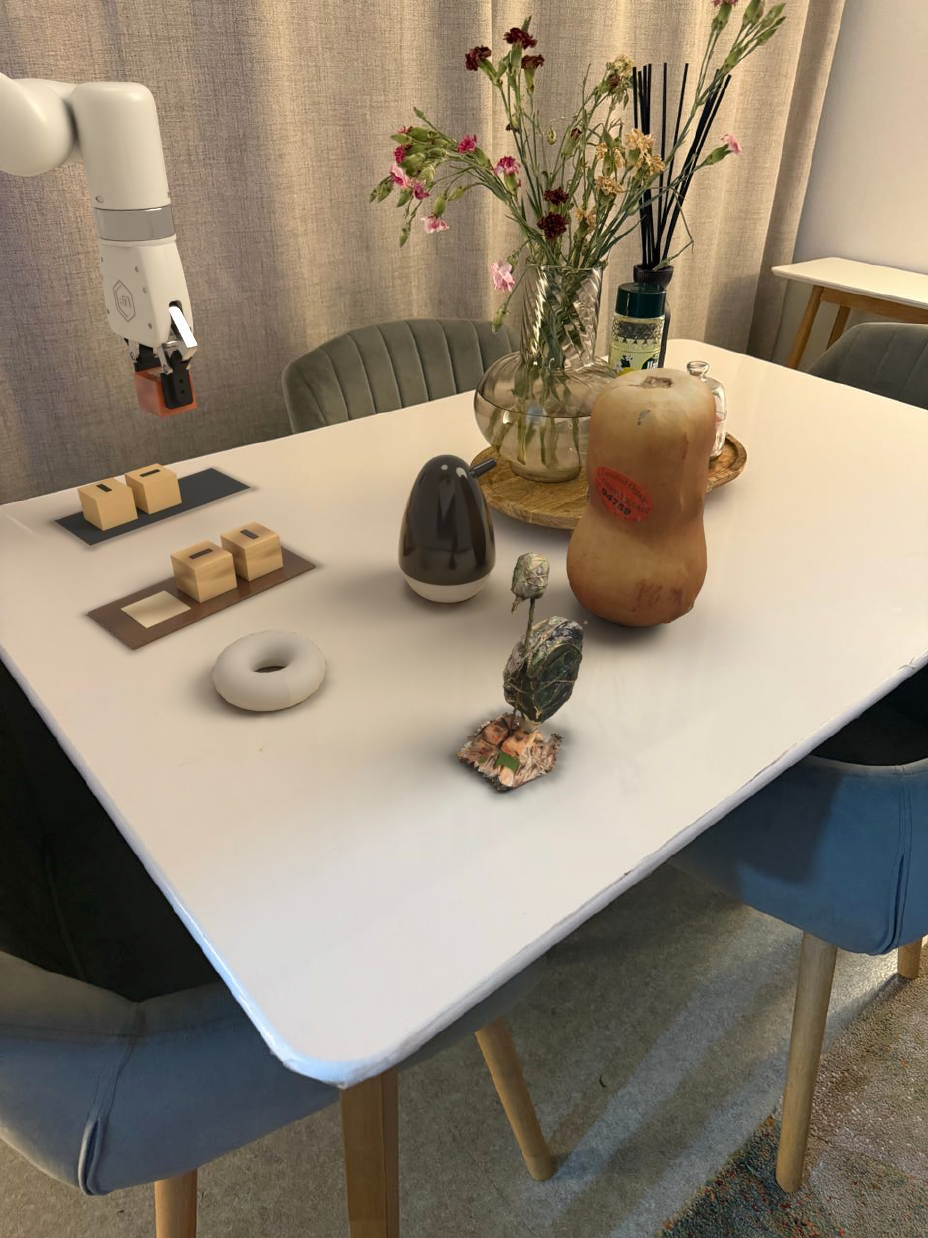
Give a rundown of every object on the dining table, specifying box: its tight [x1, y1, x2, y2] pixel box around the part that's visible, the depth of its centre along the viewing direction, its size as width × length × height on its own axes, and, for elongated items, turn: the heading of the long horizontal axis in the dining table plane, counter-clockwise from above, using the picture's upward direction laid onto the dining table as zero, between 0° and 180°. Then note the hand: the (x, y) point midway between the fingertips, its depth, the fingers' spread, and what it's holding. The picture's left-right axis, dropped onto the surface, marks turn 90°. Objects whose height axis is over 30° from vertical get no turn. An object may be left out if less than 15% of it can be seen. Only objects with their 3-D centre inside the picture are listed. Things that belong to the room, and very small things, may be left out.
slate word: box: [54, 462, 251, 546], centre depth 109 cm, size 9×22×5 cm, turn 137°
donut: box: [212, 629, 327, 712], centre depth 80 cm, size 10×4×10 cm
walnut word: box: [87, 521, 317, 651], centre depth 93 cm, size 9×22×5 cm, turn 137°
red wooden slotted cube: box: [132, 366, 198, 419], centre depth 99 cm, size 4×4×4 cm
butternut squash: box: [565, 367, 717, 629], centre depth 84 cm, size 14×13×25 cm
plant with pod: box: [457, 552, 588, 791], centre depth 68 cm, size 8×11×20 cm
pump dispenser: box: [397, 454, 498, 604], centre depth 90 cm, size 10×10×15 cm
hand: (166, 398), depth 99 cm, fingers closed on red wooden slotted cube, 4 cm apart
